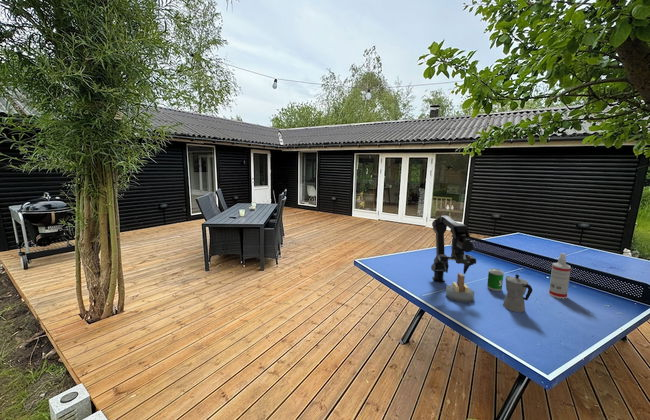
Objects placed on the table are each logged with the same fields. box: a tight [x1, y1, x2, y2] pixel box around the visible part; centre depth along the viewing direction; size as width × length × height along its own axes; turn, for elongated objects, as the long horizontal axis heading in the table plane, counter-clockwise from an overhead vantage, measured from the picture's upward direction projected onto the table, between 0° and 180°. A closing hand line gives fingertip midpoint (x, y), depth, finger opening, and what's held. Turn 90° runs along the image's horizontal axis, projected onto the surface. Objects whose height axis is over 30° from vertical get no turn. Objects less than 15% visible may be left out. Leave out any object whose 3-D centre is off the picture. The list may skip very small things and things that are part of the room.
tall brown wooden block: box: [456, 272, 466, 292], centre depth 144 cm, size 5×2×9 cm, turn 169°
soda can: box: [486, 268, 505, 292], centre depth 154 cm, size 8×8×12 cm
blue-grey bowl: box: [445, 281, 475, 303], centre depth 145 cm, size 14×14×7 cm
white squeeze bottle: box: [548, 252, 572, 300], centre depth 145 cm, size 8×8×25 cm
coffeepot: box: [502, 274, 533, 313], centre depth 131 cm, size 15×9×18 cm, turn 6°
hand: (455, 273), depth 146 cm, fingers open, 9 cm apart
